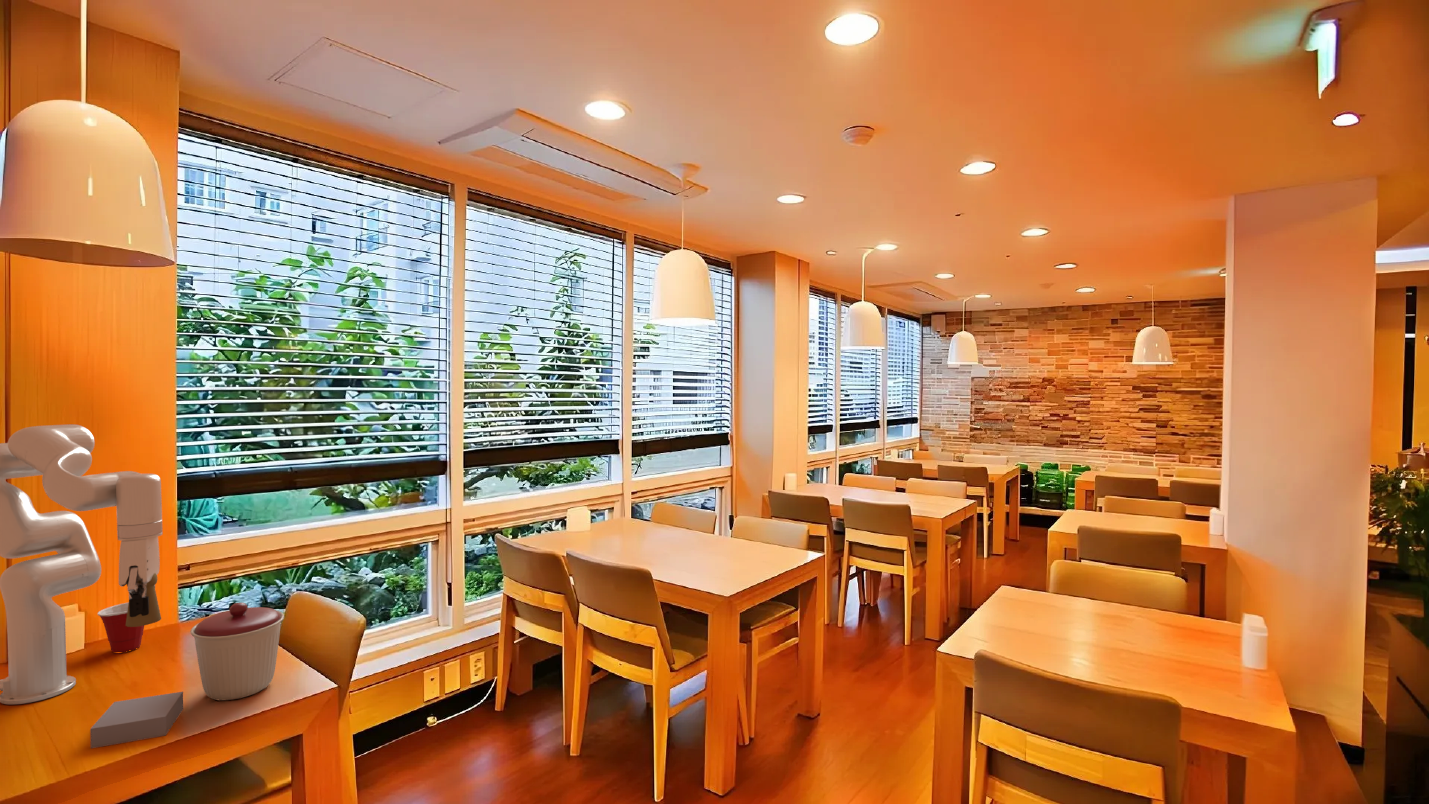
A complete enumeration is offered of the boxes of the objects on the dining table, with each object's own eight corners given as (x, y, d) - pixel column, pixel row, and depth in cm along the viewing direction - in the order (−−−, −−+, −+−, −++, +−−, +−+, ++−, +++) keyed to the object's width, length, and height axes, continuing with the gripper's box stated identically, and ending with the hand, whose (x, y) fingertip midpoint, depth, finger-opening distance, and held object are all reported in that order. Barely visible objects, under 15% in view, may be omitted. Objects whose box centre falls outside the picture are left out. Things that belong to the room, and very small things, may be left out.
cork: (168, 617, 149) (167, 568, 149) (143, 627, 143) (141, 576, 143) (143, 616, 150) (141, 568, 150) (117, 626, 144) (115, 576, 144)
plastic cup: (119, 642, 185) (118, 599, 185) (161, 640, 186) (160, 598, 186) (86, 658, 175) (85, 613, 174) (131, 657, 176) (130, 612, 175)
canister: (211, 717, 146) (210, 622, 145) (178, 695, 155) (176, 606, 154) (299, 685, 161) (298, 599, 160) (263, 667, 171) (262, 586, 170)
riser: (90, 748, 133) (90, 728, 133) (114, 720, 144) (114, 702, 144) (165, 735, 138) (165, 716, 138) (183, 708, 149) (183, 691, 149)
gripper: (131, 524, 152) (134, 603, 152) (103, 540, 137) (106, 627, 137) (172, 521, 155) (175, 598, 156) (149, 536, 140) (152, 621, 141)
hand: (143, 611), depth 147 cm, fingers closed on cork, 4 cm apart
